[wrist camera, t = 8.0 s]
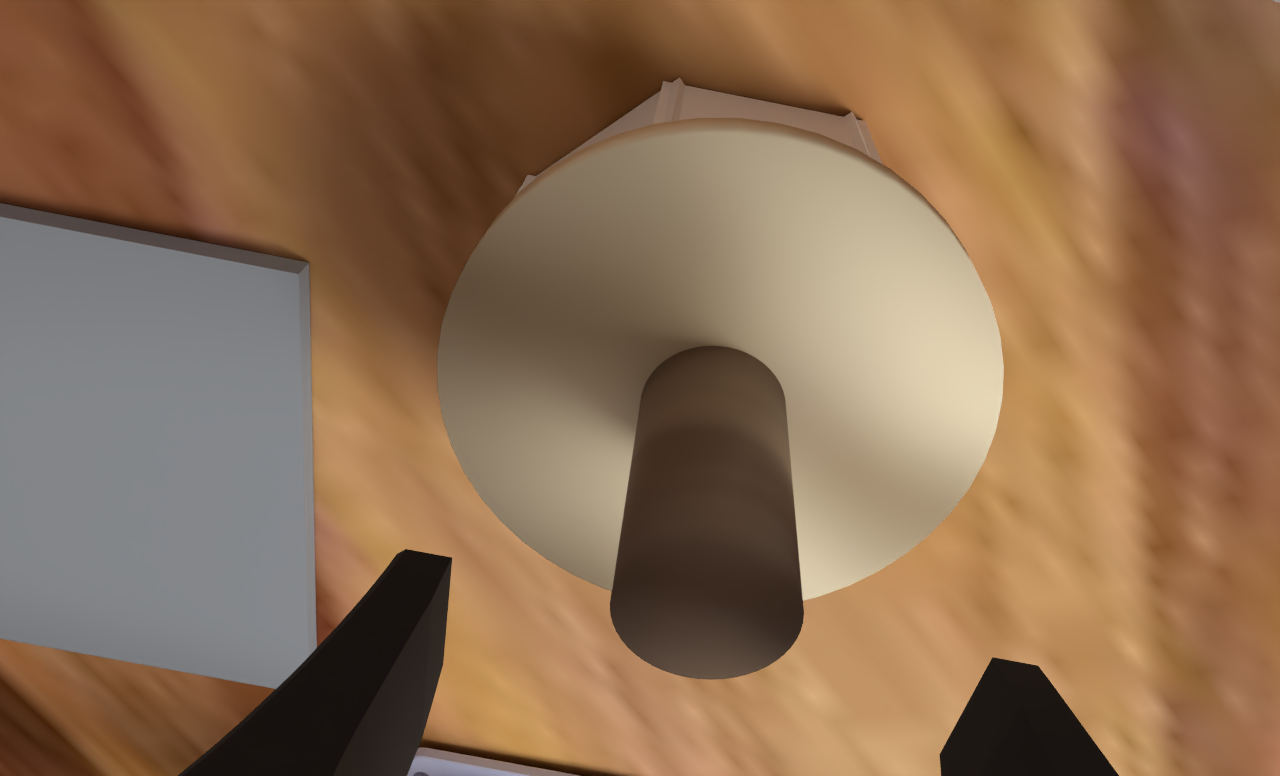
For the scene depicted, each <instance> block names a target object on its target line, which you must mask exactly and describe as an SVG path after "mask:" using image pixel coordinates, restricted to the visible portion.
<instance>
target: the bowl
mask: <svg viewBox="0 0 1280 776" xmlns="http://www.w3.org/2000/svg"><path fill="white" fill-rule="evenodd" d="M693 118H744V119H751V120H759V121H767V122H775V123H781V124H785V125H789V126H792V127H796V128H800V129H804V130H807V131H811V132H815V133H819V134H821V135H824V136H826V137H829V138H831V139H833V140H836V141H838V142H841V143H843V144H845V145H848V146H850V147H853V148H855V149H857V150H859V151H861V152H862V153H864V154H866V155H867V156H869V157H871V158H873V159H874V160H876V161H878V162H879V163H881V164H882V161H881V159H880V156H879V154H878V151H877V149H876V146H875V144H874V141H873V139H872V136H871V134H870V131H869V129H868V126H867V124H866V121H862V120H857V119H856V117H855V116H854V114H853V112H851V113H849V114H848V115H846V116H844V117H842V116H837V115H832V114H827V113H822V112H817V111H812V110H807V109H802V108H797V107H792V106H787V105H782V104H777V103H772V102H767V101H762V100H756V99H751V98H746V97H741V96H736V95H731V94H726V93H721V92H716V91H711V90H706V89H701V88H696V87H691V86H686V85H684V83H683V82H682V80H681V79H680V78H678V79H677V80H675V81H674V82H672V83H671V82H666V81H663V83H662V88H661V91H659V92H658V93H656V94H655V95H653V96H652V97H650V98H649V99H648V100H646V101H645V102H643V103H642V104H640V105H639V106H637V107H636V108H634V109H633V110H631V111H630V112H629V113H627V114H626V115H624V116H623V117H621V118H620V119H618V120H617V121H615V122H614V123H613V124H611V125H610V126H608V127H607V128H605V129H604V130H602V131H601V132H599V133H598V134H597V135H595V136H594V137H592V138H591V139H589V140H588V141H586V142H585V143H583V144H582V145H581V146H579V147H578V148H576V149H575V150H573V151H572V152H570V153H569V154H567V155H566V156H565V157H563V158H562V159H560V160H559V161H557V162H556V163H554V164H553V165H551V166H550V167H552V166H554V165H555V164H557V163H559V162H560V161H562V160H564V159H566V158H567V157H569V156H571V155H572V154H574V153H576V152H577V151H579V150H581V149H583V148H585V147H588V146H590V145H592V144H595V143H597V142H600V141H602V140H604V139H607V138H609V137H611V136H614V135H616V134H619V133H623V132H627V131H630V130H634V129H638V128H641V127H645V126H649V125H652V124H656V123H663V122H671V121H678V120H686V119H693ZM550 167H549V168H550ZM549 168H547V169H549ZM547 169H546V170H547ZM546 170H544V171H543V172H541V173H540V174H538V175H537V176H532V175H527V176H526V178H525V180H524V182H523V184H522V186H521V187H520V188H519V190H518V192H517V194H518V193H519V192H520V191H521V190H522V189H524V188H525V187H526V186H527V185H529V184H530V183H531V182H532V181H534V180H535V179H536V178H537V177H539V176H540V175H541V174H542V173H544V172H545V171H546ZM517 194H516V195H517ZM516 195H515V196H516Z"/></svg>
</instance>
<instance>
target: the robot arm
mask: <svg viewBox="0 0 1280 776" xmlns="http://www.w3.org/2000/svg"><path fill="white" fill-rule="evenodd" d="M451 564H452V558H451V557H445V556H440V555H434V554H429V553H424V552H418V551H413V550H407V549H406V550H404V551H402V552H400V553H398V554H397V555H396V556H395V558H394V559H393V560H392V562H391V563H390V564H389V566H388V567H387V568H386V570H385V571H384V572H383V573H382V575H381V576H380V577H379V578H378V580H377V581H376V582H375V583H374V585H373V586H372V587H371V588H370V589H369V591H368V592H367V593H366V594H365V595H364V597H363V598H362V599H361V600H360V601H359V602H358V604H357V605H356V606H355V607H354V608H353V609H352V610H351V612H350V613H349V614H348V615H347V616H346V617H345V618H344V619H343V621H342V622H341V623H340V624H339V625H338V626H337V627H336V628H335V629H334V630H333V631H332V633H331V634H330V635H329V636H328V637H327V638H326V639H325V640H324V641H323V642H322V643H321V644H320V645H319V646H318V647H317V648H316V649H315V650H314V651H313V653H312V654H311V655H310V656H309V657H308V658H307V659H306V660H305V661H304V662H303V663H302V664H301V665H300V666H299V667H298V668H297V669H296V670H295V671H294V672H293V673H292V674H291V675H290V676H289V677H288V678H287V679H286V680H285V681H284V682H283V683H282V684H281V685H280V686H279V687H278V688H277V689H275V690H274V691H273V692H272V693H271V694H270V695H269V696H268V697H267V698H266V699H265V700H264V701H263V702H262V703H261V704H260V705H259V706H258V707H256V708H255V709H254V710H253V711H252V712H251V713H250V714H249V715H248V716H247V717H246V718H245V719H244V720H243V721H242V722H240V723H239V724H238V725H237V726H236V727H235V728H234V729H233V730H231V731H230V732H229V733H228V734H227V735H226V736H225V737H223V738H222V739H221V740H220V741H219V742H218V743H217V744H215V745H214V746H213V747H212V748H211V749H210V750H208V751H207V752H206V753H205V754H204V755H202V756H201V757H200V758H199V759H198V760H196V761H195V762H194V763H193V764H191V765H190V766H189V767H188V768H187V769H185V770H184V771H183V772H182V773H180V774H179V775H178V776H580V775H575V774H569V773H564V772H558V771H553V770H547V769H542V768H536V767H531V766H525V765H520V764H514V763H509V762H503V761H498V760H492V759H487V758H481V757H476V756H470V755H465V754H459V753H454V752H448V751H443V750H437V749H432V748H425V747H420V748H418V747H419V744H420V742H421V739H422V736H423V733H424V729H425V726H426V723H427V719H428V716H429V712H430V709H431V705H432V702H433V698H434V695H435V691H436V687H437V684H438V680H439V677H440V673H441V670H442V666H443V658H444V647H445V635H446V623H447V611H448V600H449V588H450V576H451ZM940 764H941V776H1119V775H1118V774H1117V772H1116V771H1115V770H1114V768H1113V767H1112V766H1111V764H1110V763H1109V762H1108V760H1107V759H1106V757H1105V756H1104V755H1103V753H1102V752H1101V751H1100V749H1099V748H1098V747H1097V745H1096V744H1095V742H1094V741H1093V740H1092V738H1091V737H1090V736H1089V734H1088V733H1087V732H1086V730H1085V729H1084V727H1083V726H1082V725H1081V723H1080V722H1079V721H1078V719H1077V718H1076V716H1075V715H1074V714H1073V712H1072V711H1071V710H1070V708H1069V707H1068V705H1067V704H1066V703H1065V701H1064V700H1063V699H1062V697H1061V696H1060V694H1059V693H1058V692H1057V690H1056V689H1055V688H1054V686H1053V685H1052V684H1051V682H1050V681H1049V680H1048V678H1047V677H1046V676H1045V674H1044V673H1043V672H1042V670H1041V669H1040V668H1039V667H1038V666H1036V665H1031V664H1025V663H1020V662H1015V661H1009V660H1004V659H998V658H992V660H991V661H990V663H989V665H988V667H987V669H986V671H985V672H984V674H983V676H982V678H981V680H980V682H979V683H978V685H977V687H976V689H975V691H974V693H973V694H972V696H971V698H970V700H969V702H968V704H967V705H966V707H965V709H964V711H963V713H962V715H961V716H960V718H959V720H958V722H957V724H956V726H955V727H954V729H953V731H952V733H951V735H950V737H949V738H948V740H947V742H946V744H945V746H944V748H943V749H942V751H941V753H940Z"/></svg>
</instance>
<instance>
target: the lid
mask: <svg viewBox="0 0 1280 776" xmlns="http://www.w3.org/2000/svg"><path fill="white" fill-rule="evenodd" d="M1003 374H1004V365H1003V356H1002V347H1001V338H1000V333H999V329H998V326H997V322H996V319H995V315H994V312H993V308H992V304H991V301H990V299H989V297H988V295H987V293H986V291H985V288H984V286H983V284H982V282H981V280H980V278H979V276H978V274H977V271H976V269H975V267H974V265H973V263H972V261H971V259H970V257H969V256H968V254H967V252H966V250H965V248H964V247H963V245H962V244H961V242H960V241H959V239H958V238H957V236H956V235H955V233H954V232H953V230H952V229H951V227H950V226H949V224H948V223H947V221H946V220H945V219H944V218H943V217H942V216H941V215H940V214H939V212H938V211H937V210H936V209H935V208H934V207H933V206H932V205H931V204H930V203H929V202H928V201H927V200H926V198H925V197H924V196H923V195H922V194H921V193H920V192H919V191H917V190H916V189H915V188H914V187H912V186H911V185H910V184H909V183H907V182H906V181H905V180H904V179H902V178H901V177H900V176H899V175H897V174H896V173H895V172H894V171H892V170H891V169H890V168H888V167H886V166H884V165H883V164H881V163H879V162H878V161H876V160H874V159H873V158H871V157H869V156H867V155H866V154H864V153H862V152H861V151H859V150H857V149H855V148H853V147H850V146H848V145H845V144H843V143H841V142H838V141H836V140H833V139H831V138H829V137H826V136H824V135H821V134H819V133H815V132H811V131H807V130H804V129H800V128H796V127H792V126H789V125H785V124H781V123H775V122H767V121H759V120H751V119H744V118H693V119H686V120H678V121H671V122H663V123H656V124H652V125H649V126H645V127H641V128H638V129H634V130H630V131H627V132H623V133H619V134H616V135H614V136H611V137H609V138H607V139H604V140H602V141H600V142H597V143H595V144H592V145H590V146H588V147H585V148H583V149H581V150H579V151H577V152H576V153H574V154H572V155H571V156H569V157H567V158H566V159H564V160H562V161H560V162H559V163H557V164H555V165H554V166H552V167H550V168H549V169H547V170H546V171H545V172H544V173H542V174H541V175H540V176H539V177H537V178H536V179H535V180H534V181H532V182H531V183H530V184H529V185H527V186H526V187H525V188H524V189H522V190H521V191H520V192H519V193H518V194H517V195H516V196H515V197H514V198H513V199H512V200H511V202H510V203H509V204H508V205H507V206H506V207H505V208H504V209H503V210H502V211H501V212H500V213H499V214H498V215H497V216H496V218H495V219H494V221H493V222H492V223H491V225H490V226H489V228H488V229H487V231H486V232H485V234H484V235H483V236H482V238H481V239H480V241H479V242H478V244H477V245H476V247H475V249H474V251H473V252H472V254H471V256H470V258H469V259H468V261H467V263H466V265H465V267H464V269H463V271H462V273H461V275H460V277H459V279H458V281H457V283H456V285H455V287H454V290H453V292H452V294H451V296H450V300H449V303H448V306H447V309H446V313H445V316H444V319H443V322H442V326H441V333H440V340H439V347H438V354H437V385H438V393H439V399H440V405H441V412H442V417H443V421H444V424H445V427H446V430H447V433H448V436H449V439H450V442H451V446H452V448H453V450H454V452H455V454H456V456H457V458H458V460H459V462H460V464H461V467H462V469H463V471H464V473H465V474H466V476H467V477H468V479H469V480H470V482H471V484H472V485H473V487H474V488H475V490H476V491H477V493H478V494H479V496H480V497H481V499H482V500H483V501H484V502H485V503H486V504H487V506H488V507H489V508H490V509H491V510H492V512H493V513H494V514H495V515H496V516H497V517H498V519H499V520H500V521H501V522H502V523H503V524H504V525H505V526H507V527H508V528H509V529H510V530H511V531H512V532H513V533H514V534H515V535H516V536H517V537H518V538H519V539H521V540H522V541H523V542H524V543H525V544H527V545H528V546H529V547H531V548H532V549H534V550H535V551H536V552H538V553H539V554H540V555H542V556H543V557H544V558H546V559H547V560H549V561H551V562H552V563H554V564H556V565H557V566H559V567H561V568H562V569H564V570H566V571H568V572H569V573H571V574H573V575H575V576H577V577H579V578H581V579H583V580H586V581H588V582H590V583H592V584H595V585H597V586H599V587H601V588H604V589H607V590H610V591H612V594H611V601H610V612H611V618H612V622H613V625H614V627H615V629H616V632H617V633H618V635H619V636H620V638H621V640H622V641H623V642H624V643H625V644H626V646H627V647H628V648H629V649H630V650H631V651H632V652H633V653H635V654H636V655H637V656H638V657H640V658H641V659H643V660H644V661H646V662H647V663H649V664H651V665H653V666H654V667H657V668H659V669H661V670H664V671H666V672H669V673H672V674H675V675H680V676H684V677H689V678H696V679H726V678H734V677H738V676H743V675H747V674H750V673H753V672H756V671H758V670H760V669H762V668H765V667H767V666H768V665H770V664H772V663H773V662H775V661H776V660H778V659H779V658H780V657H781V656H783V655H784V654H785V653H786V652H787V651H788V650H789V649H790V648H791V646H792V645H793V643H794V642H795V641H796V639H797V637H798V635H799V633H800V631H801V627H802V624H803V616H804V609H803V600H807V599H811V598H815V597H819V596H822V595H824V594H827V593H830V592H833V591H835V590H838V589H841V588H844V587H846V586H849V585H851V584H853V583H855V582H857V581H859V580H862V579H864V578H866V577H868V576H870V575H872V574H874V573H876V572H878V571H879V570H881V569H883V568H884V567H886V566H887V565H889V564H891V563H892V562H894V561H895V560H897V559H899V558H900V557H902V556H903V555H905V554H906V553H907V552H909V551H910V550H911V549H912V548H914V547H915V546H916V545H917V544H919V543H920V542H921V541H922V540H923V539H925V538H926V537H927V536H928V535H930V533H931V532H932V531H933V530H934V529H935V528H936V527H937V526H938V525H939V524H940V523H941V522H942V521H943V520H944V519H945V518H946V517H947V516H948V515H949V514H950V513H951V512H952V510H953V509H954V508H955V506H956V505H957V504H958V502H959V501H960V500H961V498H962V497H963V496H964V494H965V493H966V492H967V490H968V489H969V488H970V486H971V484H972V482H973V480H974V479H975V477H976V475H977V473H978V471H979V470H980V468H981V466H982V464H983V462H984V461H985V458H986V455H987V453H988V450H989V447H990V445H991V442H992V439H993V437H994V434H995V431H996V427H997V422H998V417H999V413H1000V408H1001V403H1002V394H1003Z"/></svg>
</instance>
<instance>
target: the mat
mask: <svg viewBox="0 0 1280 776" xmlns="http://www.w3.org/2000/svg"><path fill="white" fill-rule="evenodd" d="M0 639H6V640H11V641H17V642H22V643H27V644H33V645H38V646H44V647H49V648H55V649H60V650H66V651H71V652H77V653H82V654H88V655H93V656H99V657H104V658H110V659H115V660H121V661H126V662H132V663H137V664H143V665H148V666H154V667H159V668H165V669H170V670H176V671H181V672H187V673H192V674H198V675H203V676H209V677H214V678H220V679H225V680H231V681H236V682H242V683H247V684H252V685H258V686H263V687H269V688H274V689H277V688H278V687H279V686H280V685H281V684H282V683H283V682H284V681H285V680H286V679H287V678H288V677H289V676H290V675H291V674H292V673H293V672H294V671H295V670H296V669H297V668H298V667H299V666H300V665H301V664H302V663H303V662H304V661H305V660H306V659H307V658H308V657H309V656H310V655H311V654H312V653H313V651H314V650H315V649H316V648H317V641H316V589H315V538H314V487H313V435H312V384H311V332H310V281H309V262H304V261H298V260H293V259H288V258H283V257H278V256H273V255H267V254H262V253H257V252H252V251H247V250H241V249H236V248H231V247H226V246H221V245H215V244H210V243H205V242H200V241H195V240H190V239H184V238H179V237H174V236H169V235H164V234H158V233H153V232H148V231H143V230H138V229H132V228H127V227H122V226H117V225H112V224H107V223H101V222H96V221H91V220H86V219H81V218H75V217H70V216H65V215H60V214H55V213H49V212H44V211H39V210H34V209H29V208H23V207H18V206H13V205H8V204H3V203H0Z"/></svg>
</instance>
